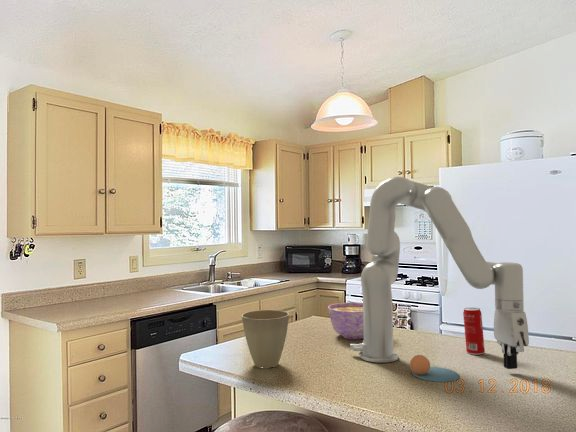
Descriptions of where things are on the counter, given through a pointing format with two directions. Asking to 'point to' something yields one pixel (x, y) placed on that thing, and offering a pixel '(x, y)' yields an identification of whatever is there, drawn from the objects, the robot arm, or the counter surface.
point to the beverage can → (473, 331)
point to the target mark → (439, 375)
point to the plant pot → (265, 335)
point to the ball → (420, 365)
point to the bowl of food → (347, 319)
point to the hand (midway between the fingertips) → (510, 367)
